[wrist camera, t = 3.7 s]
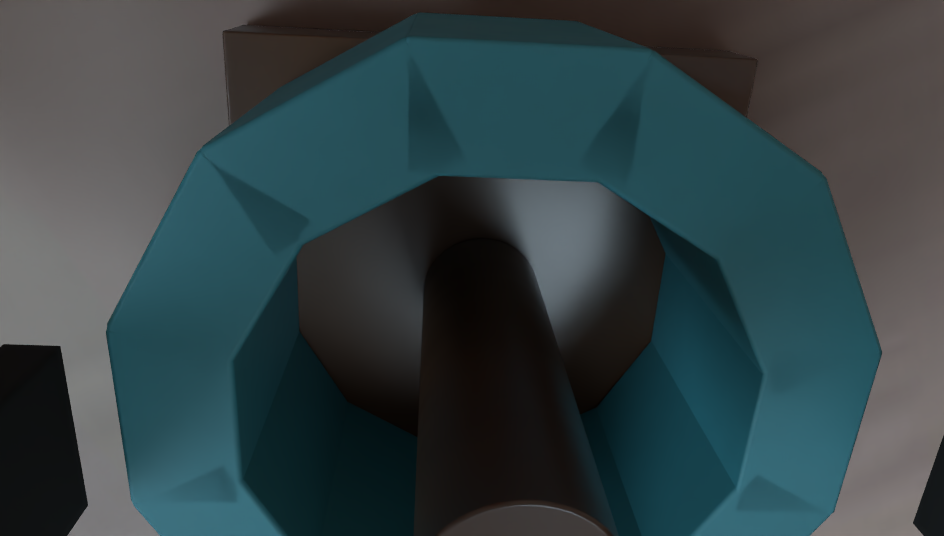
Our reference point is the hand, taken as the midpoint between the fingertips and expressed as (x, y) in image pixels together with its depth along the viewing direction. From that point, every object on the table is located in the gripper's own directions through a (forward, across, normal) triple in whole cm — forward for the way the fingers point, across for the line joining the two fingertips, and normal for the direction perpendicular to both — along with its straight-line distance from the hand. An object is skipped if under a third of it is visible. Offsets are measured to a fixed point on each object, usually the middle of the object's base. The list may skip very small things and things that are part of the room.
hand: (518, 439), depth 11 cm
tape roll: (+5, 0, 0) cm, 5 cm away
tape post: (+7, 0, 0) cm, 7 cm away
